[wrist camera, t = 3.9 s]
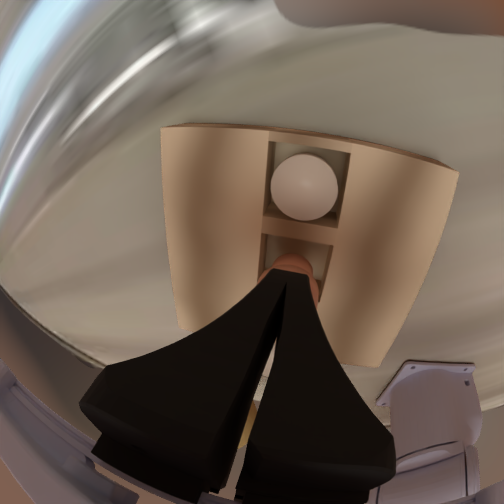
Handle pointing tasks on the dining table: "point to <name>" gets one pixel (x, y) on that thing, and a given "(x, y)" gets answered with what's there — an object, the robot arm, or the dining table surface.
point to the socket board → (302, 227)
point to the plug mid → (296, 270)
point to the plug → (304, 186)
